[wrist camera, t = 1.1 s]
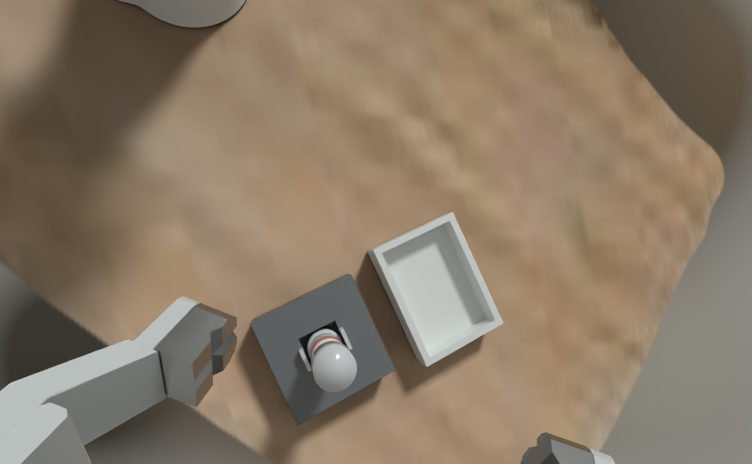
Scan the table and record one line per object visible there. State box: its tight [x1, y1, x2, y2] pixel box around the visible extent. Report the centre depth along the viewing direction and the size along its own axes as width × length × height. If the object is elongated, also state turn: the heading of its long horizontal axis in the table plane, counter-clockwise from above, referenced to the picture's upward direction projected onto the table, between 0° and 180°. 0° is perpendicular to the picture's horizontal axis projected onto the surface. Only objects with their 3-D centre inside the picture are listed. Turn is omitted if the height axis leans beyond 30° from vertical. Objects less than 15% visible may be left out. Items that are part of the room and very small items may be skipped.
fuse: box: [307, 327, 357, 392], centre depth 40 cm, size 4×4×12 cm
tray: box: [367, 212, 503, 367], centre depth 48 cm, size 15×11×4 cm
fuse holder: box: [250, 274, 395, 425], centre depth 44 cm, size 12×12×5 cm
